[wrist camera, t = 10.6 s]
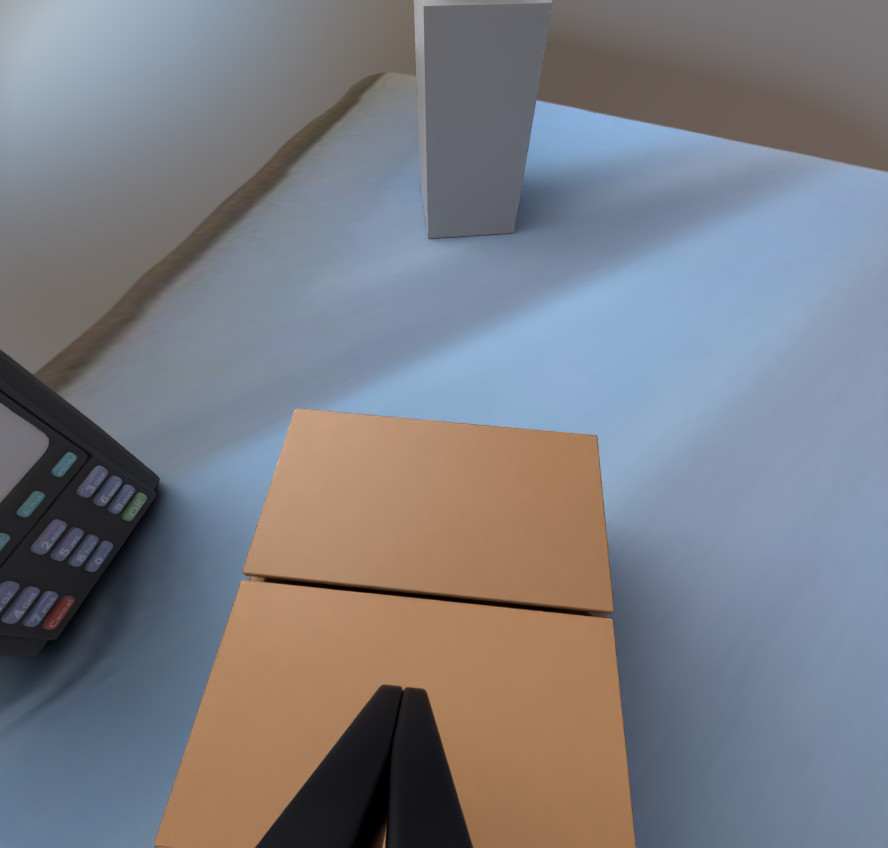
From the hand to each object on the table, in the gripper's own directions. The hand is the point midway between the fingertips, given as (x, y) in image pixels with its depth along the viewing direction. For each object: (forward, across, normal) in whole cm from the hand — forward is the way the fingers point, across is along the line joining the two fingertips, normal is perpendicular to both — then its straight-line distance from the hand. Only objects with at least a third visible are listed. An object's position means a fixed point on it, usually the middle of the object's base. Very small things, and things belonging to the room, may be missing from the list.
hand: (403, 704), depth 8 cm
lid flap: (+3, 0, +3) cm, 4 cm away
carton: (+10, 0, +7) cm, 12 cm away
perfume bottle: (+33, +1, -15) cm, 36 cm away
